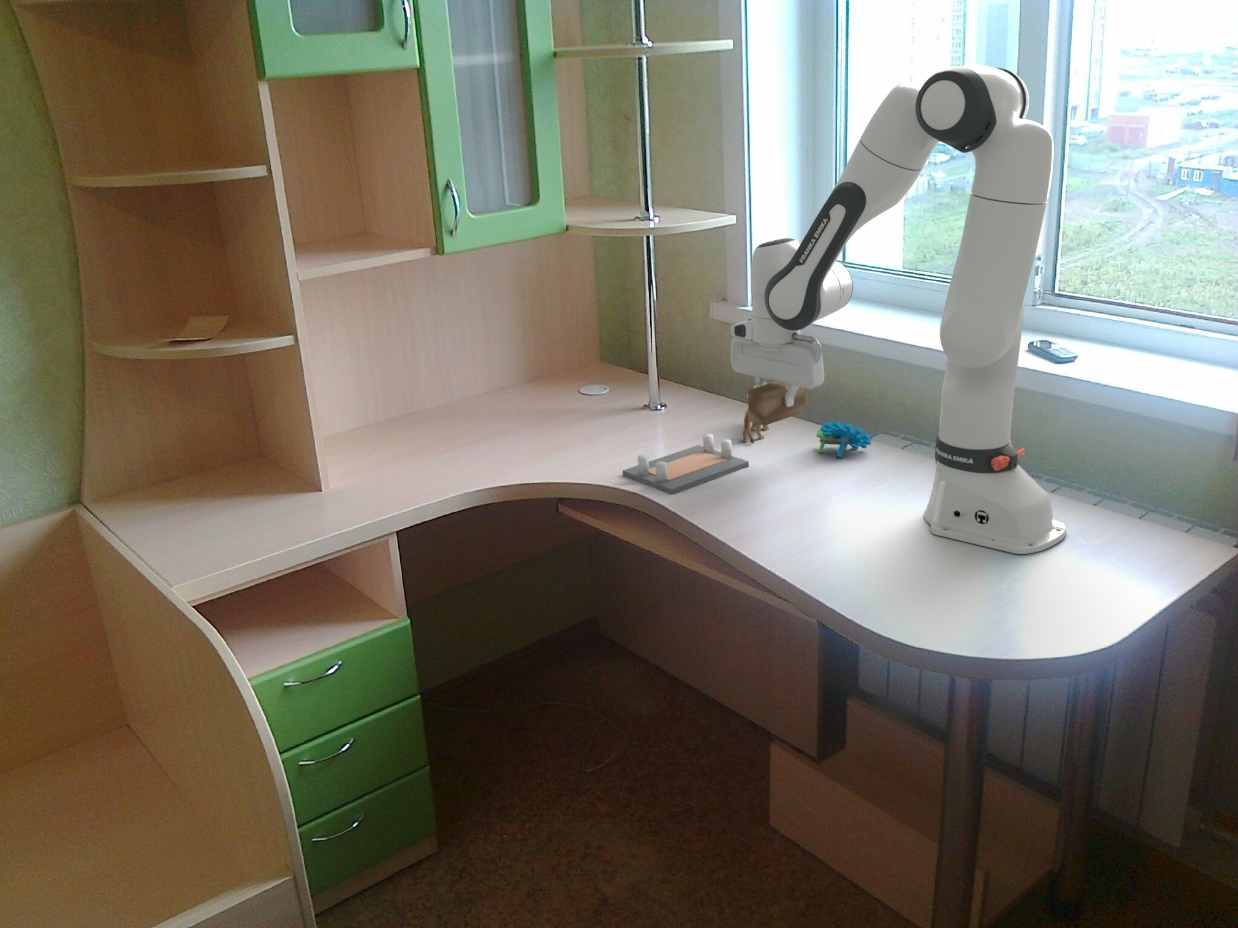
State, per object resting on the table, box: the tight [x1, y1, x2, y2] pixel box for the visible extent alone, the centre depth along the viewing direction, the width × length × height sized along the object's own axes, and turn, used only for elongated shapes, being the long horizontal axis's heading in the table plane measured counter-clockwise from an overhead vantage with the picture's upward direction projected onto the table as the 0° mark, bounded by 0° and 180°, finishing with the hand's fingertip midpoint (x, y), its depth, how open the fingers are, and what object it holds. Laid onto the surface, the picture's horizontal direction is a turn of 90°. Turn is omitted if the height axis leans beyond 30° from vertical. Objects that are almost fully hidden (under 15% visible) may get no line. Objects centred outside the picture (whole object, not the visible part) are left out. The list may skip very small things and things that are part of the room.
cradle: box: [622, 433, 750, 495], centre depth 209 cm, size 14×20×4 cm
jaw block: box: [747, 381, 806, 426], centre depth 202 cm, size 4×11×6 cm, turn 130°
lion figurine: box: [741, 385, 770, 444], centre depth 227 cm, size 15×5×9 cm, turn 169°
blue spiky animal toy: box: [816, 420, 872, 459], centre depth 214 cm, size 11×6×10 cm
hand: (776, 402), depth 202 cm, fingers closed on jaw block, 4 cm apart
